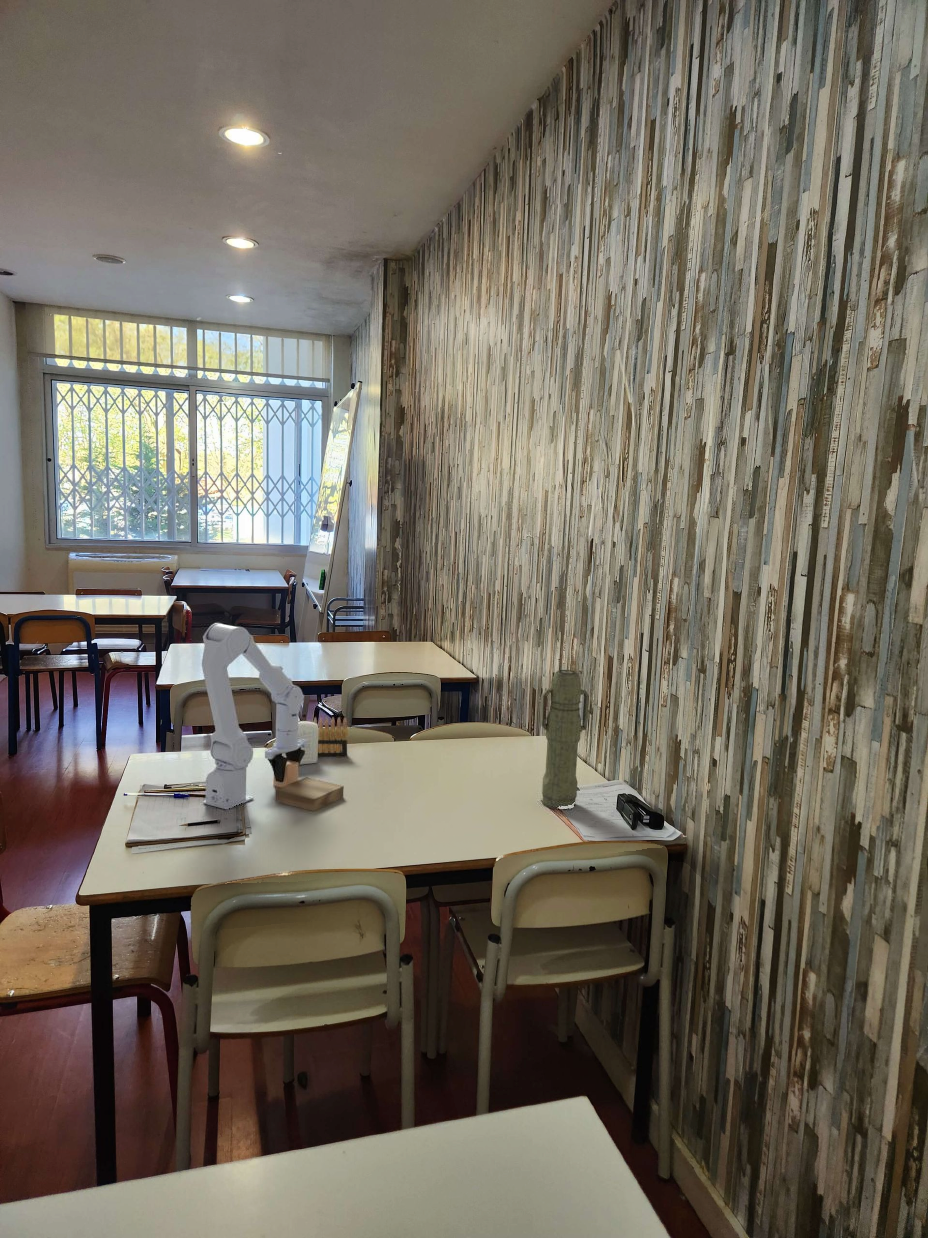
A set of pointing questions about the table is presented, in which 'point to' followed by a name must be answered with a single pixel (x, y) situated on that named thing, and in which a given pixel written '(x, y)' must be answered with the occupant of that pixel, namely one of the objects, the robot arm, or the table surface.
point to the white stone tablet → (308, 741)
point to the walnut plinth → (309, 793)
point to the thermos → (562, 737)
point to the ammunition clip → (332, 738)
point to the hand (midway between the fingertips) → (285, 779)
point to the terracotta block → (288, 774)
